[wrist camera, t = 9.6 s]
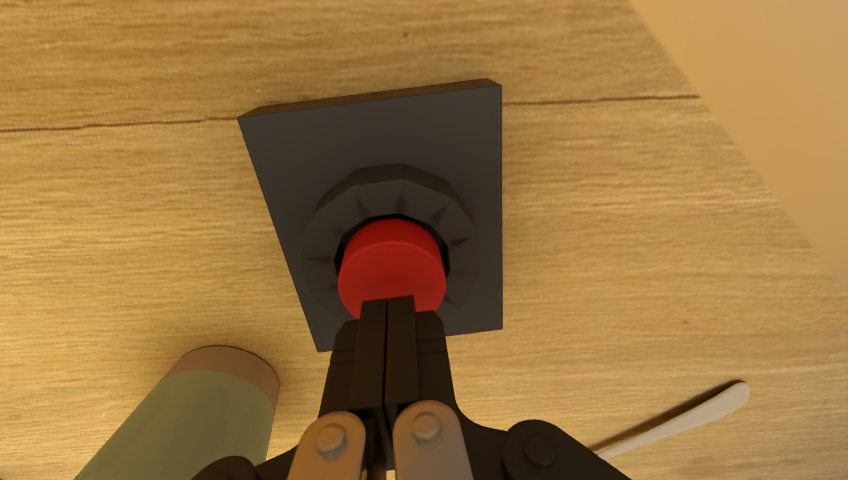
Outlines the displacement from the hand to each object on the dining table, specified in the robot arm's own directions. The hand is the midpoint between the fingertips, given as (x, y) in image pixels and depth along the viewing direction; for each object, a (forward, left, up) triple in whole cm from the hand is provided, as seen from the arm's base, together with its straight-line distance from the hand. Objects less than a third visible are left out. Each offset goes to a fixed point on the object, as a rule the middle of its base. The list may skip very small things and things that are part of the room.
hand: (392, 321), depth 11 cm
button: (0, 0, -3) cm, 3 cm away
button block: (0, 0, -7) cm, 7 cm away
